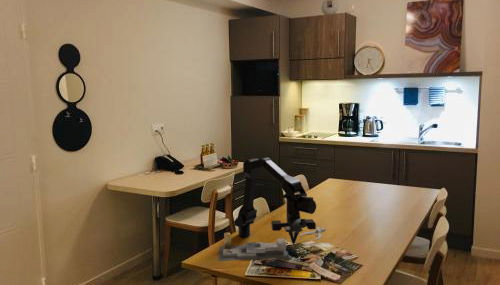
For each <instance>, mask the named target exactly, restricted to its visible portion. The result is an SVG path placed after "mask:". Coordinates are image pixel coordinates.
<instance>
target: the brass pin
mask: <svg viewBox="0 0 500 285" xmlns="http://www.w3.org/2000/svg"><path fill="white" fill-rule="evenodd" d="M223 240H224V246H225V249H231V246H232V235H231V232H227V231H226V232H224V233H223Z"/></svg>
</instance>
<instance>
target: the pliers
mask: <svg viewBox="0 0 500 285" xmlns="http://www.w3.org/2000/svg"><path fill="white" fill-rule="evenodd" d="M325 231H326V227H322V228H321V226H318V227H316V229H315V230H313V231H306V232H303V233H301V234H298V236H299V237H302V236H305V235H314V234H315V236H316V238H315V240H314V241H317V240H320V239H322V232H325Z"/></svg>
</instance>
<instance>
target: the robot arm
mask: <svg viewBox="0 0 500 285" xmlns="http://www.w3.org/2000/svg"><path fill="white" fill-rule="evenodd" d="M242 168H243V169H242V172H243V175H244V176H245V181H244V191H243V201H242V205H241V207H240V209H239V210H238V214H237V217H236V218H235V219H234V221H233V224H234V226H236V227H238V228H237V229H238V230H237V231H238V237H239V238H242V239H248V238H249V237H251V224H254V222H255V220H256V218H257V213H258V210H257V209H255V207H254V203H255V202H254V200H255V193H256V185H257V184H256V183H257V177H258V175H259V174H261V169H262V168H263V169H264V170H265V171H266V172H267V173H269V175H270V176H272V178H274V180H276V181H277V182H278V183H279V184H280V188H281V189H282V191H283V192H284V193H285V194H283V195H282V198H283V199H286V200H285V201H286V222H282V221H281V220H280V219H279V220H272V221H271V222H270V224H271V225H270V226H271V227H270V228H271V230H272V231H273V232H276V231H277V232H280V231H281V230H282V229H284V230H285V232H286V233H288V235H289V237H290V240H291V243H292V245H295V244H296V241H297V238H298V236H299V235H300V234H299V233H300V232H303V229H304V228H307V229H308V230H316V229H317V224H316V222H315V220H314V219H312V218H311V219H310V218H309V219H306V218H301V213H305V214H308V215H309V214H310V215H313V214H314V213H315V212H316V209H317V203H316V201H315V200H314V197H313V196H308V194H307V192H306V190H305V189H304V187H303V184H302V181H301V180H299V179H298V178H296V177H294V176H291V175H288V174H287V173H286V172H285V171H284V170H283V169H282V168H280V167H279V166H278V165H277V164H276V163H275V162H273V160H272V159H271V158H270V157H262V158H255V157H254V158H250V159H246V160H244V161H243V163H242Z"/></svg>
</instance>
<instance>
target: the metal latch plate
mask: <svg viewBox="0 0 500 285" xmlns="http://www.w3.org/2000/svg"><path fill="white" fill-rule="evenodd" d="M245 245H246V252H247V253H265V251H286V249H287V242H286V239H285V238H277V242H264V241H257V242H256V241H255V242H253V241H252V242H246V243H245ZM252 247H260V248H252Z"/></svg>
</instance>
